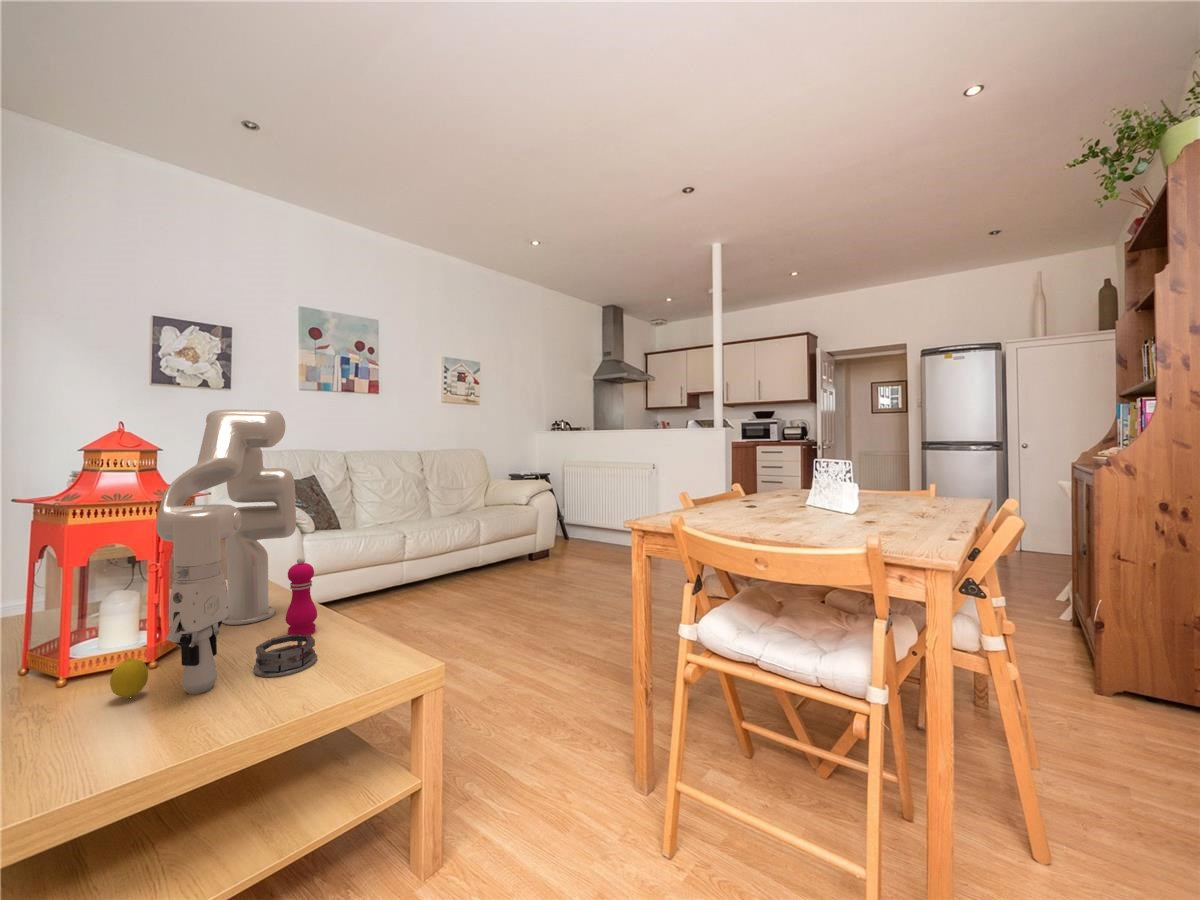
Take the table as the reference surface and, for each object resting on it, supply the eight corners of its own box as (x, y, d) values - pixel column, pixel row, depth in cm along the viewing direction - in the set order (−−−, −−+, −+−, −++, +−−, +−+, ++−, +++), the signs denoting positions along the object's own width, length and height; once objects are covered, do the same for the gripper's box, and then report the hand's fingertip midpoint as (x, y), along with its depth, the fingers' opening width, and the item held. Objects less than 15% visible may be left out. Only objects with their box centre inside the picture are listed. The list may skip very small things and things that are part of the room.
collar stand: (239, 676, 110) (238, 654, 110) (278, 652, 123) (277, 632, 123) (295, 678, 110) (294, 656, 110) (328, 653, 122) (328, 633, 122)
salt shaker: (178, 699, 101) (176, 634, 100) (185, 686, 106) (184, 624, 105) (214, 692, 103) (213, 629, 103) (220, 680, 109) (219, 620, 108)
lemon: (118, 694, 103) (117, 655, 102) (153, 689, 105) (152, 650, 105) (104, 707, 98) (103, 666, 97) (141, 702, 100) (140, 661, 100)
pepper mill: (323, 628, 138) (322, 554, 137) (305, 639, 131) (304, 561, 130) (298, 627, 138) (297, 553, 138) (279, 637, 131) (277, 560, 131)
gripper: (180, 583, 95) (182, 680, 96) (245, 561, 112) (247, 644, 113) (141, 582, 96) (143, 679, 96) (212, 560, 112) (214, 643, 113)
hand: (199, 659), depth 104 cm, fingers closed on salt shaker, 3 cm apart
